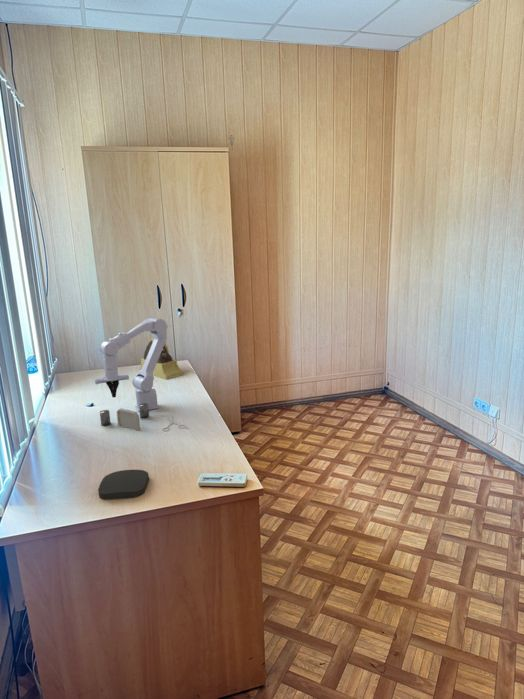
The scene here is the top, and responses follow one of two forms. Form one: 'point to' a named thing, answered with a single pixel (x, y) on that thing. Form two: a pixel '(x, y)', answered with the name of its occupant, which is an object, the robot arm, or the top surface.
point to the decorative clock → (163, 364)
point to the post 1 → (105, 417)
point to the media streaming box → (123, 484)
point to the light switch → (128, 419)
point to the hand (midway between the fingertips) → (114, 396)
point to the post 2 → (144, 411)
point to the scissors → (173, 423)
